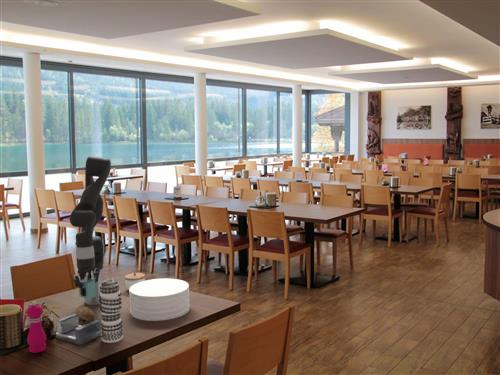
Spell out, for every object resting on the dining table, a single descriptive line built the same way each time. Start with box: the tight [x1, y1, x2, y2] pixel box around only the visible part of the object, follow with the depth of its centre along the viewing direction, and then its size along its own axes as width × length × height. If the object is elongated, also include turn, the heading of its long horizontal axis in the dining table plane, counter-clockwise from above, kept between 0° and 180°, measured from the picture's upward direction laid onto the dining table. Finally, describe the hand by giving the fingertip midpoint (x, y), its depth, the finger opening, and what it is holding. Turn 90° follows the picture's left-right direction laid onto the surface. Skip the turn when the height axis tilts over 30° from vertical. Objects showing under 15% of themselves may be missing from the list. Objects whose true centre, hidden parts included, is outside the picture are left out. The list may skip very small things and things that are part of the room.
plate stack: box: [128, 277, 191, 322], centre depth 261 cm, size 28×28×12 cm
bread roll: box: [70, 306, 95, 325], centre depth 251 cm, size 10×10×8 cm
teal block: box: [78, 279, 96, 299], centre depth 239 cm, size 6×4×7 cm, turn 57°
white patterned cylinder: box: [98, 278, 124, 344], centre depth 227 cm, size 9×9×25 cm
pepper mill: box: [26, 300, 48, 354], centre depth 218 cm, size 7×7×20 cm
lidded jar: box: [124, 271, 146, 290], centre depth 294 cm, size 11×11×9 cm
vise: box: [55, 319, 102, 346], centre depth 231 cm, size 15×11×6 cm
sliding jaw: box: [56, 313, 80, 334], centre depth 234 cm, size 2×9×6 cm, turn 147°
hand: (87, 294), depth 239 cm, fingers closed on teal block, 4 cm apart
